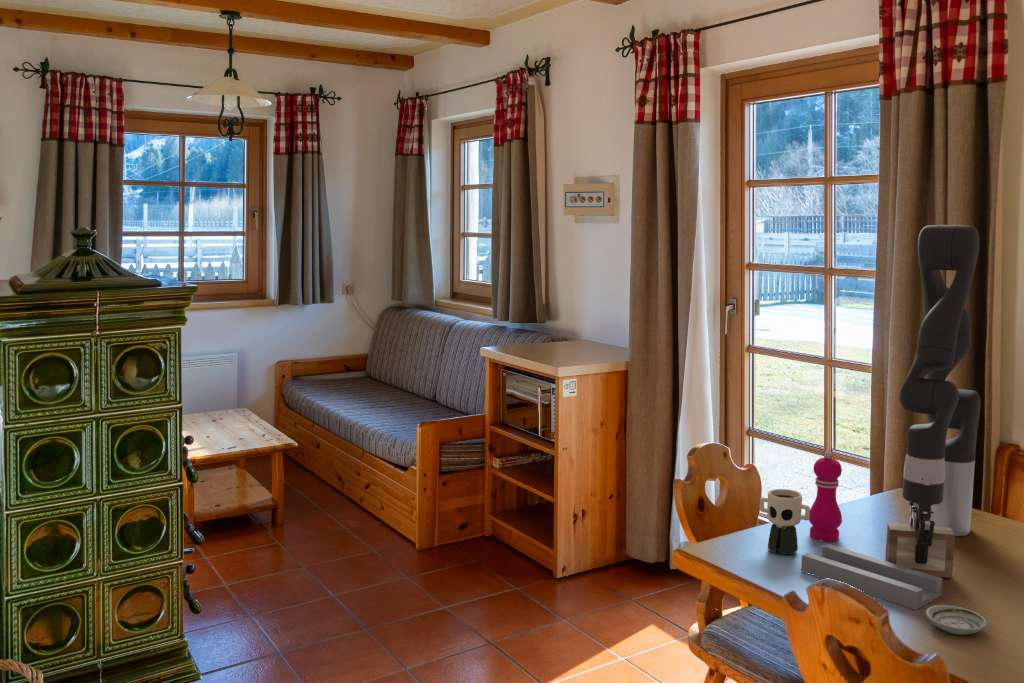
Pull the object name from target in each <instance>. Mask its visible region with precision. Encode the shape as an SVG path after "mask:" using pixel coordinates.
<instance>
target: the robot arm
mask: <svg viewBox="0 0 1024 683" xmlns="http://www.w3.org/2000/svg"><path fill="white" fill-rule="evenodd" d="M979 253H980V235H979V231H978V229H977V228H976V227H975V226H973V225H965V224H963V225H962V224H958V225H957V224H954V225H953V224H950V225H949V224H933V225H931V224H930V225H926V226H923V228H922V229H921V230H920V232H919V235H918V239H917V255H918V256H917V258H918V266H919V272H920V280H921V286H922V287H921V288H922V295H923V296H922V298H923V320H922V322H921V325H920V327H919V332H918V339H917V344H916V350H915V356H914V359H913V362H912V365H911V367H910V369H909V371H908V374H907V376H906V377H905V378H904V382H903V383H902V385H901V387H900V390H899V397H898V398H899V404H900V405H901V407H902V409H903V410H904V411H906V412H908V413H913V414H921V415H926V417H927V422H928V423H919V424H912V425H910V427H909V428H908V430H907V434H906V436H907V438H906V449H905V452H906V453H905V458H904V465H903V476H902V477H903V480H902V498H903V499H904V500H906V501H907V502H908V505H909V525H911V526H913V532H914V533H915V534H916V541H915V544H916V548H915V562H916V563H919V564H926V563H927V556H928V546H929V547H931V545H932V538H933V531H934V527H945V528H951V529H952V531H953V532H954V534H955V537H963V536H968V535H969V534H970V533H971V521H972V509H973V493H974V480H975V467H976V466H975V464H976V451H977V450H976V449H977V436H978V429H979V421H980V415H981V397H980V394H979V392H977V391H976V390H973V389H972V390H971V389H965V388H963V389H962V388H958V387H957V386H956V384H955V383H953V382H952V381H950V380H946V379H947V377H948V376H949V375H950V374H951V372H952V371H953V370H954V368H956V367H957V365H959V363H961V361H962V360H963V359H964V358H965V357H966V355H967V354H968V353H969V351H970V350H971V347H972V320H971V316H970V314H969V312H968V311H967V309H966V308H965V306H966V303H967V299H968V296H969V293H970V289H971V285H972V282H973V278H974V275H975V270H976V266H977V263H978V259H979ZM941 271H955V274H954V277H953V280H952V283H951V284H950V286H949V287H948V285H947V284H946V282H945V280H944V278H943V275H942V272H941ZM925 377H926V378H925ZM950 429H952V430H957V431H958V430H959V431H960V434H959V435H957V436H955V437H953V438H950V439H947V434H948V430H950ZM917 528H919V530H918V529H917ZM922 537H926V540H921V539H922Z"/></svg>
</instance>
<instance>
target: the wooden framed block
mask: <svg viewBox="0 0 1024 683" xmlns="http://www.w3.org/2000/svg"><path fill="white" fill-rule="evenodd" d="M886 524H887V526H886V544H885V545H886V546H885V560H884V561H887V562H890V563H893V564H897V565H900V566H903V567H907V568H910V569H913V570H917V571H920V572H923V573H927V574H930V575H933V576H937V577H940V578H948V579H949V578H950V579H952V578H953V570H954V569H953V568H954V556H955V542H956V541H955V539H956V536H955V534H954V532H953V531H952V529H951V528H945V527H934V531H933V538H932V545H931V547H929V546H928V556H927V563H926V564H919V563H916V562H915V548H916V544H915V541H916V534H915V533H914V532H913V526H911V525H910V524H907V523H894V522H892V523H891V522H887V523H886ZM917 529H918V530H919V528H917ZM921 540H926V537H922V539H921Z"/></svg>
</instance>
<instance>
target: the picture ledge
mask: <svg viewBox="0 0 1024 683" xmlns="http://www.w3.org/2000/svg"><path fill="white" fill-rule="evenodd" d="M821 554H822V555H821V556H820V555H816V554H813V553H810V552H805V553H804V554H802V555H801V566H800V567H801V570H800V572H801V571H804V572H807V573H810V574H814V575H816V576H819V577H820V578H819V577H818V578H819V579H822V578H830V579H834V580H837V581H841V582H844V583H847V584H849V585H851V586H853V587H855V588H857V589H860V590H862V591H864V592H866V593H865V594H867V595H870V596H873V595H874V596H873V597H875V598H876V597H877V598H879V599H883V600H885V601H888V602H892V603H894V604H896V605H901V606H903V607H906V608H909V609H912V610H915V611H917V610H919V609H921V608H922V607H924V606H925V605H927V604H929V603H931V602H933V601H935V600H936V599H938V598H940V597H942V586H943V577H937V576H933V575H930V574H927V573H923V572H920V571H917V570H913V569H910V568H907V567H903V566H900V565H897V564H893V563H890V562H887V561H885V560H884V559H880V558H876V557H873V556H870V555H867V554H863V553H860V552H856V551H853V550H851V549H846V548H844V547H839V546H836V545H833V544H830V543H828V544H825V545H823V546H822V552H821ZM804 572H803V573H804ZM807 573H806V574H807ZM810 574H809V575H810ZM816 576H815V577H816ZM864 592H863V593H864Z"/></svg>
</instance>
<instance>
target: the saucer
mask: <svg viewBox="0 0 1024 683" xmlns="http://www.w3.org/2000/svg"><path fill="white" fill-rule="evenodd" d="M925 616H926V617H927V619H928V620H930V622H931V623H932V624H933V625H934V626H936V627H937V628H939V629H941V630H942V631H944V632H946V633H949V634H951V635H959V636H963V635H964V636H965V635H972V634H976V633H978V632H980V631H982V630H984V629H985V628H986V626H987V620H986V619H985V618H984V617H983V616H982V615H981V614H980V613H978V612H976V611H973V610H972V609H968V608H964V607H960V606H956V605H949V604H938V605H937V604H936V605H932V606H930V607H928V608H927V609H926V610H925Z"/></svg>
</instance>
